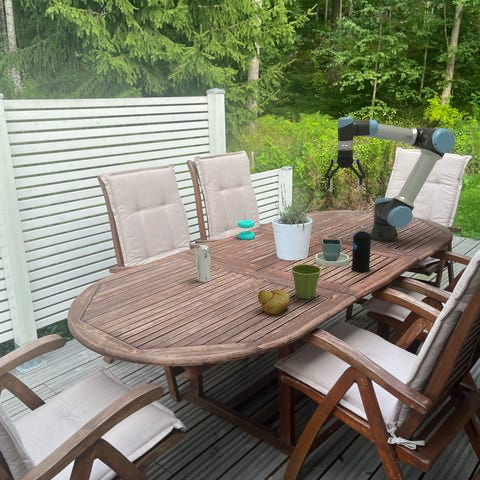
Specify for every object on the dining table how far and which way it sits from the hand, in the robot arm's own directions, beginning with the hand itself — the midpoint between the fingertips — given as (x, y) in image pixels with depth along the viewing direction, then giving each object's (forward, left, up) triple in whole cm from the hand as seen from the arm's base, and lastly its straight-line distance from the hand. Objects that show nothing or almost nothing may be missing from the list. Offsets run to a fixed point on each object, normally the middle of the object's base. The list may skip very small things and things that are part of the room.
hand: (344, 191), depth 224 cm
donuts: (+45, -34, -30) cm, 64 cm away
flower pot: (+14, +18, -29) cm, 37 cm away
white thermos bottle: (+77, +28, -30) cm, 87 cm away
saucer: (+14, +19, -30) cm, 38 cm away
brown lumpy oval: (+54, +65, -30) cm, 90 cm away
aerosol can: (+6, +33, -30) cm, 45 cm away
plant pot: (+40, +56, -30) cm, 75 cm away
